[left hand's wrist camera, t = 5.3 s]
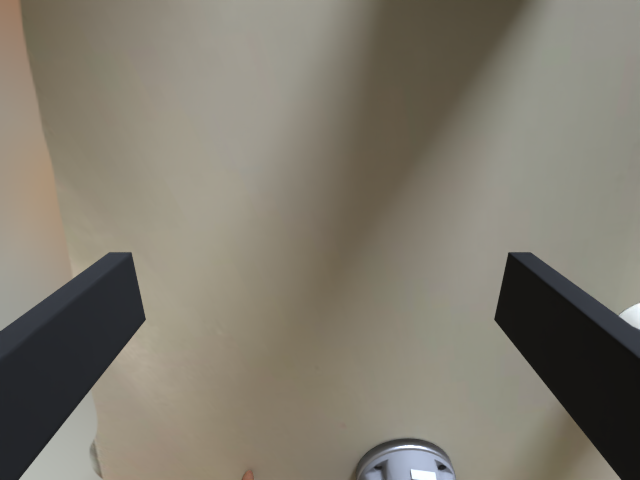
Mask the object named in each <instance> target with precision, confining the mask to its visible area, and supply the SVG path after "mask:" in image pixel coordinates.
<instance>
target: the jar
mask: <svg viewBox="0 0 640 480" xmlns="http://www.w3.org/2000/svg"><path fill="white" fill-rule="evenodd" d="M619 317H620V318H622V319H623V320H625V321H626V322H627V323H629V324H630V325H632V326H633V327H635V328H638V329H640V303H639V304H636V305H634V306H632V307H630V308H628V309H626V310H625V311H624V312H622V313H621V314H620V315H619Z"/></svg>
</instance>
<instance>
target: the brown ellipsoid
mask: <svg viewBox="0 0 640 480" xmlns="http://www.w3.org/2000/svg"><path fill="white" fill-rule="evenodd" d="M242 480H254V476H253V473H252V471H250V470H248V471H247V472H246V473H245V474H244V476H243V478H242Z"/></svg>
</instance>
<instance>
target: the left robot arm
mask: <svg viewBox="0 0 640 480" xmlns="http://www.w3.org/2000/svg"><path fill="white" fill-rule="evenodd" d="M145 320H146V318H145V314H144V309H143V304H142V300H141V295H140V290H139V286H138V281H137V276H136V272H135V267H134V262H133V257H132V253H131V252H109V253H108V254H107V255H105V256H104V257H102V258H101V259H100V260H98V261H97V262H96V263H94V264H93V265H91V266H90V267H89V268H87V269H86V270H84V271H83V272H82V273H80V274H79V275H78V276H76V277H75V278H73V279H72V280H71V281H69V282H68V283H67V284H65V285H64V286H62V287H61V288H60V289H58V290H57V291H56V292H54V293H53V294H51V295H50V296H49V297H47V298H46V299H44V300H43V301H42V302H40V303H39V304H38V305H36V306H35V307H33V308H32V309H31V310H29V311H28V312H26V313H25V314H24V315H22V316H21V317H20V318H18V319H17V320H15V321H14V322H13V323H11V324H10V325H9V326H7V327H6V328H4V329H3V330H2V331H0V480H19V479H20V477H21V476H22V475H23V473H24V472H25V471H26V470H27V469H28V467H29V466H30V465H31V464H32V462H33V461H34V460H35V458H36V457H37V456H38V455H39V453H40V452H41V451H42V450H43V448H44V447H45V446H46V445H47V443H48V442H49V441H50V440H51V438H52V437H53V436H54V435H55V433H56V432H57V431H58V429H59V428H60V427H61V426H62V424H63V423H64V422H65V421H66V419H67V418H68V417H69V416H70V414H71V413H72V412H73V411H74V409H75V408H76V407H77V406H78V404H79V403H80V402H81V400H82V399H83V398H84V397H85V395H86V394H87V393H88V392H89V390H90V389H91V388H92V387H93V385H94V384H95V383H96V382H97V380H98V379H99V378H100V377H101V375H102V374H103V373H104V372H105V370H106V369H107V368H108V367H109V365H110V364H111V363H112V361H113V360H114V359H115V358H116V356H117V355H118V354H119V353H120V351H121V350H122V349H123V348H124V346H125V345H126V344H127V343H128V341H129V340H130V339H131V338H132V336H133V335H134V334H135V332H136V331H137V330H138V329H139V327H140V326H141V325H142V324H143V322H144V321H145ZM494 320H495V321H496V322H497V324H498V325H499V326H500V327H501V329H502V330H503V331H504V332H505V334H506V335H507V336H508V338H509V339H510V340H511V341H512V343H513V344H514V345H515V346H516V348H517V349H518V350H519V351H520V353H521V354H522V355H523V356H524V358H525V359H526V360H527V361H528V363H529V364H530V365H531V367H532V368H533V369H534V370H535V372H536V373H537V374H538V375H539V377H540V378H541V379H542V380H543V382H544V383H545V384H546V385H547V387H548V388H549V389H550V390H551V392H552V393H553V394H554V395H555V397H556V398H557V399H558V401H559V402H560V403H561V404H562V406H563V407H564V408H565V409H566V411H567V412H568V413H569V414H570V416H571V417H572V418H573V419H574V421H575V422H576V423H577V424H578V426H579V427H580V428H581V429H582V431H583V432H584V433H585V435H586V436H587V437H588V438H589V440H590V441H591V442H592V443H593V445H594V446H595V447H596V448H597V450H598V451H599V452H600V453H601V455H602V456H603V457H604V458H605V460H606V461H607V462H608V464H609V465H610V466H611V467H612V469H613V470H614V471H615V472H616V474H617V475H618V476H619V477H620V479H621V480H640V329H638V328H635V327H633V326H632V325H630V324H629V323H627V322H626V321H625V320H623V319H622V318H620V317H619V316H618V315H616V314H615V313H614V312H612V311H611V310H609V309H608V308H607V307H605V306H604V305H603V304H601V303H600V302H598V301H597V300H596V299H594V298H593V297H591V296H590V295H589V294H587V293H586V292H585V291H583V290H582V289H580V288H579V287H578V286H576V285H575V284H573V283H572V282H571V281H569V280H568V279H567V278H565V277H564V276H562V275H561V274H560V273H558V272H557V271H556V270H554V269H553V268H551V267H550V266H549V265H547V264H546V263H544V262H543V261H542V260H540V259H539V258H538V257H536V256H535V255H533V254H532V253H531V252H509V253H508V257H507V262H506V267H505V272H504V276H503V281H502V286H501V290H500V295H499V300H498V304H497V309H496V314H495V318H494ZM356 480H456V476H455V473H454V470H453V467H452V464H451V461H450V459H449V457H448V456H447V454H446V453H445V452H444V451H443V450H442V449H440V448H439V447H438V446H436V445H434V444H432V443H429V442H426V441H423V440H417V439H399V440H393V441H389V442H386V443H383V444H381V445H378V446H376V447H375V448H373V449H371V450H370V451H369V452H368V453H366V454H365V455H364V456H363V458H362V459H361V460H360V462H359V464H358V466H357V469H356Z"/></svg>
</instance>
